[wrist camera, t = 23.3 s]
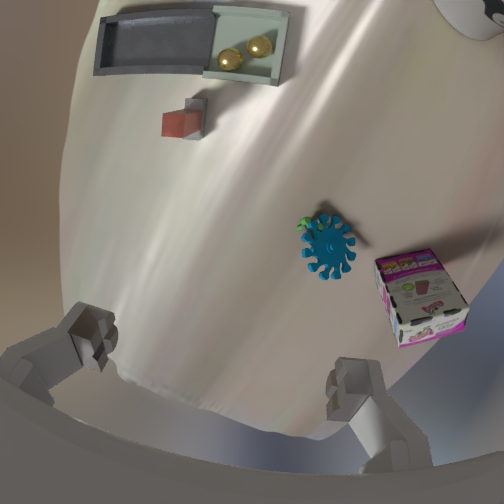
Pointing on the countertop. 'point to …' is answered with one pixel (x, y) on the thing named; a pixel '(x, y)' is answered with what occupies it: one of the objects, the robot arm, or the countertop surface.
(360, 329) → the countertop surface
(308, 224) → the gear
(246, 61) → the tray
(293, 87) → the countertop surface
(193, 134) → the red-brown bar
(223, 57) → the yellow-brown round piece
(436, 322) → the candy bar box
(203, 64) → the tray
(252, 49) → the shiny gold ball
